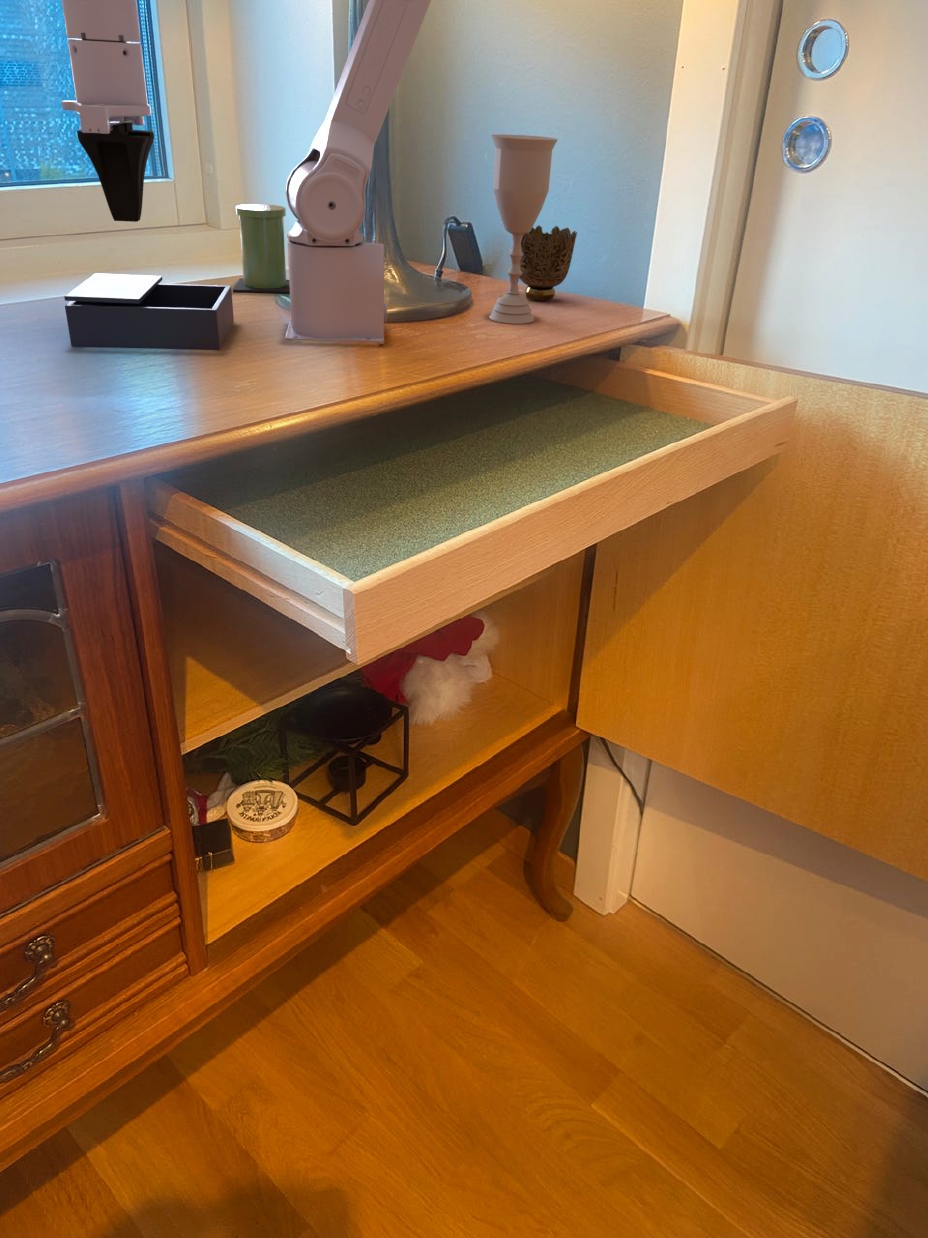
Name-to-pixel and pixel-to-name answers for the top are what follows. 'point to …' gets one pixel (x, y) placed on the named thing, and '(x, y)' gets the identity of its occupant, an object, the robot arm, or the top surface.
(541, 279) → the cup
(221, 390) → the top surface
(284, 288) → the mat
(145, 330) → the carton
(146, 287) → the flap
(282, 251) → the pot
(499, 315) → the chalice
